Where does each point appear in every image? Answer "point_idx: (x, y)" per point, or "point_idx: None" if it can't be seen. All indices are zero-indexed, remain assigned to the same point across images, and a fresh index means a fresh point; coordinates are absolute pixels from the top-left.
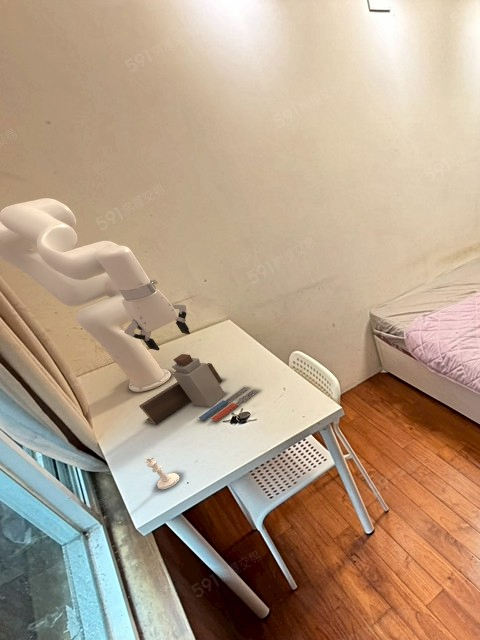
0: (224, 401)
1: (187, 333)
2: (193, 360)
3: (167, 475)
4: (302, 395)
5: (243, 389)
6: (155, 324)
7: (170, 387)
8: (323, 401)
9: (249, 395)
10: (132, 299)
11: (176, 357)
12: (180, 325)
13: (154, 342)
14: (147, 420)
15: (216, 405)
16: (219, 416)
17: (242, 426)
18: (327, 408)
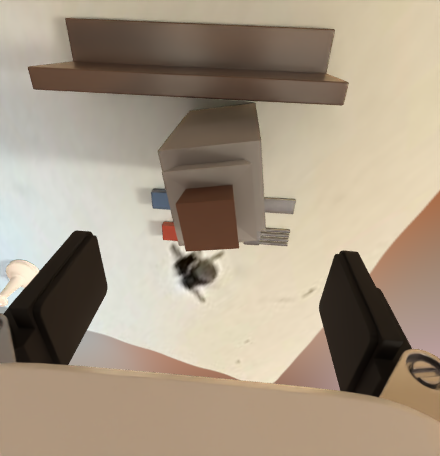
0: None
1: (320, 313)
2: (240, 225)
3: (20, 286)
4: (293, 333)
5: (286, 207)
6: None
7: (153, 83)
8: (283, 369)
9: (267, 238)
10: None
11: (197, 201)
12: (345, 358)
13: (73, 345)
14: (67, 29)
15: None
16: (175, 238)
17: (177, 290)
18: (267, 380)
